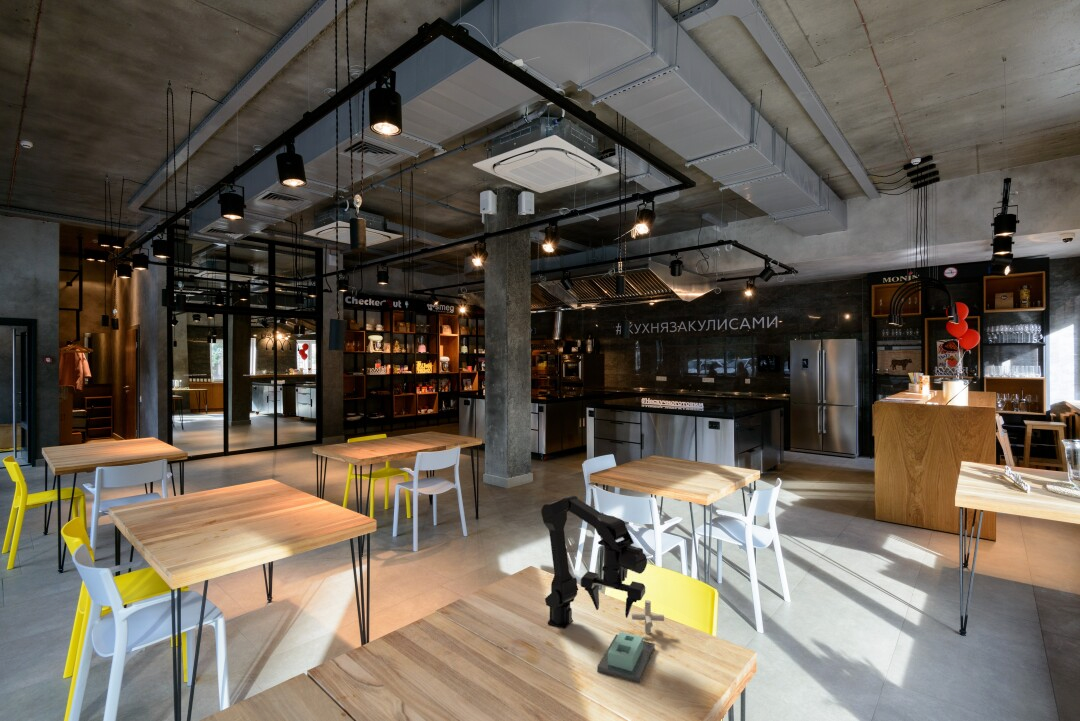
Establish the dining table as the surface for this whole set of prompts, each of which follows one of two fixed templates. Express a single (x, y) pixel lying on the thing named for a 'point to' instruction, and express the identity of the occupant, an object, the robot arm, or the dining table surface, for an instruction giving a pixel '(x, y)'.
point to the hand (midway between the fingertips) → (612, 613)
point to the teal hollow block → (629, 644)
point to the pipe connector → (647, 617)
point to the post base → (623, 673)
